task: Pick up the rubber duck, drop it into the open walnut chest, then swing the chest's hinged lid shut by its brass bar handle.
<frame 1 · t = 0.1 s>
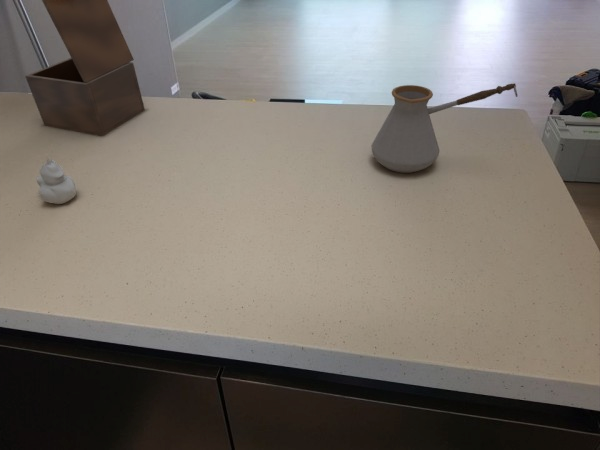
coffee pot: (431, 166, 79), on the kitchen counter
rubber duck: (61, 200, 74), on the kitchen counter
chest: (96, 118, 99), on the kitchen counter
lid: (97, 24, 84), point 20 cm above the kitchen counter, hinge at 75.0°
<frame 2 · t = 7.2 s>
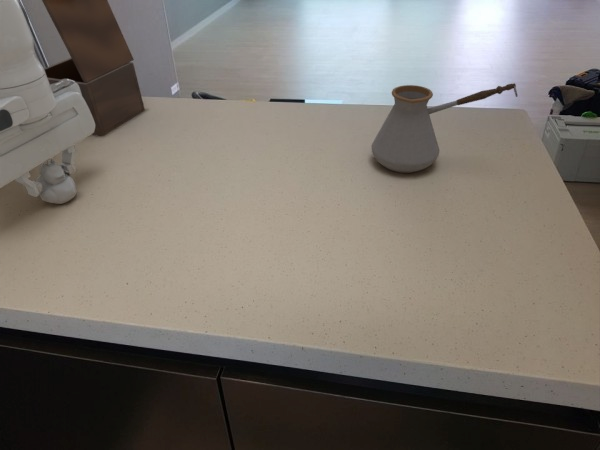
hand: (53, 183, 72), 3 cm above the kitchen counter, tool pointing down, fingers closed on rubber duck, 5 cm apart
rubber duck: (61, 200, 74), on the kitchen counter, touching gripper
everything else where it was.
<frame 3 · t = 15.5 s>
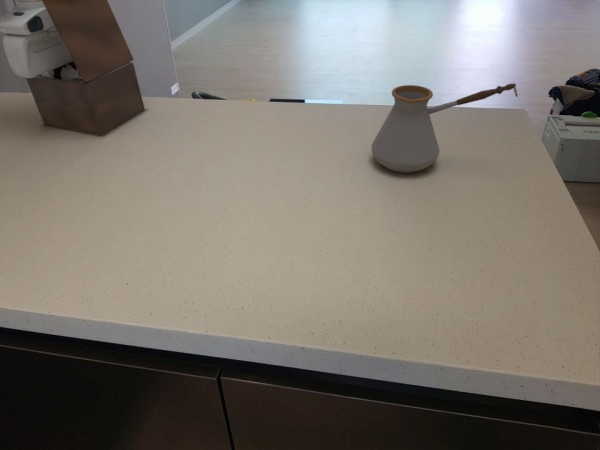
hand: (70, 85, 94), 7 cm above the kitchen counter, tool pointing down, fingers closed on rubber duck, 5 cm apart
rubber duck: (76, 100, 96), point 4 cm above the kitchen counter, touching gripper
everything else where it was.
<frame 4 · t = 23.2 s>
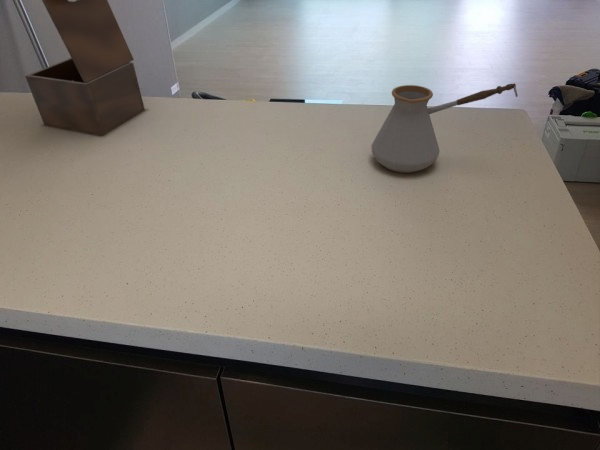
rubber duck: (81, 116, 99), point 1 cm above the kitchen counter, touching chest
lid: (97, 24, 84), point 20 cm above the kitchen counter, hinge at 75.0°, touching gripper
everything else where it was.
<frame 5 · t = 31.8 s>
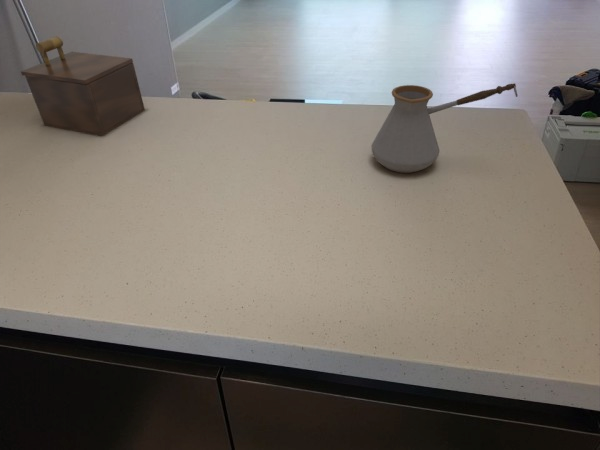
lid: (74, 55, 91), point 13 cm above the kitchen counter, hinge at -0.2°, touching chest
everything else where it was.
at the end: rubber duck inside the target area in the chest (3.1 cm from its centre), point 0.6 cm above the chest's base; lid at +0° (first picture: +75°) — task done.
